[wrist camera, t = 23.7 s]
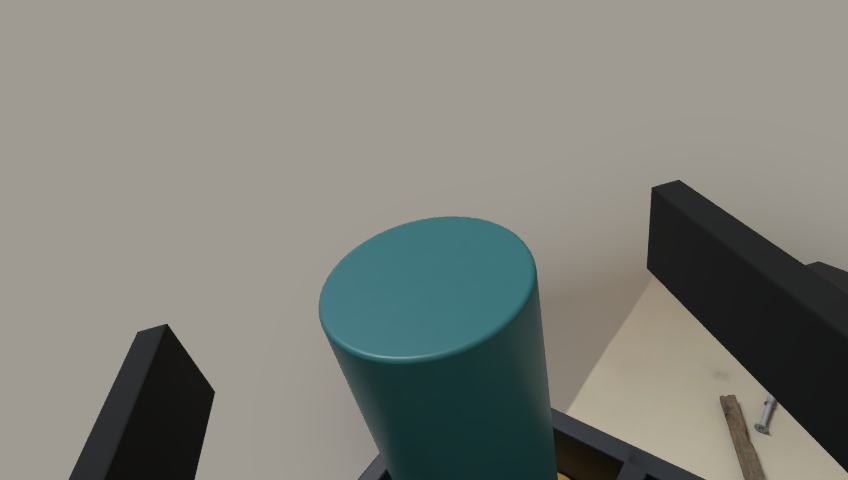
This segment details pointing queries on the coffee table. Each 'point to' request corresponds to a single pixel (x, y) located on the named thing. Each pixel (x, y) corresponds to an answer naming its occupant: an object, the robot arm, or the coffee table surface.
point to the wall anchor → (765, 415)
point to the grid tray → (586, 457)
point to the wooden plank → (741, 439)
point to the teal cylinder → (445, 350)
